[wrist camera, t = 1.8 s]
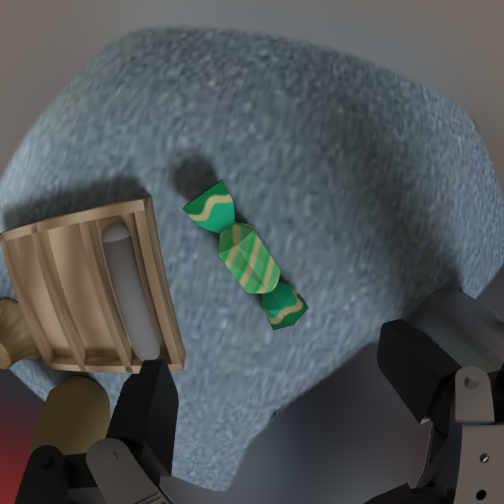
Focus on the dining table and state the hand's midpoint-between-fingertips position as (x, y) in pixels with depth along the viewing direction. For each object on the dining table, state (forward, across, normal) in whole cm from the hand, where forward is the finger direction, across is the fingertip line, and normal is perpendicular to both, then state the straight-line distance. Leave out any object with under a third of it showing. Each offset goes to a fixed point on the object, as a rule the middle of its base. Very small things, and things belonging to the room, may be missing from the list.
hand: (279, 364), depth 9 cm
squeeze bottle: (+14, +21, +15) cm, 30 cm away
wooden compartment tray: (+14, +15, +2) cm, 21 cm away
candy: (+15, 0, 0) cm, 15 cm away
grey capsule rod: (+13, +10, +2) cm, 17 cm away
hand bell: (+15, +28, +6) cm, 32 cm away
